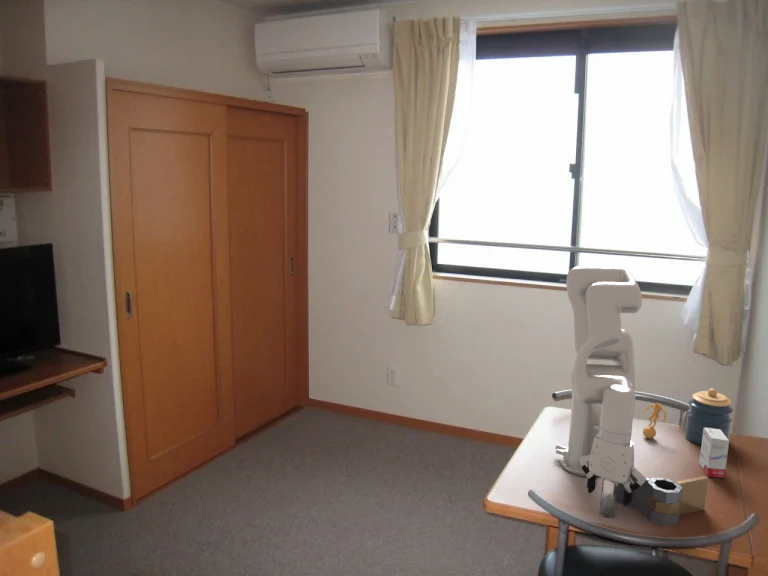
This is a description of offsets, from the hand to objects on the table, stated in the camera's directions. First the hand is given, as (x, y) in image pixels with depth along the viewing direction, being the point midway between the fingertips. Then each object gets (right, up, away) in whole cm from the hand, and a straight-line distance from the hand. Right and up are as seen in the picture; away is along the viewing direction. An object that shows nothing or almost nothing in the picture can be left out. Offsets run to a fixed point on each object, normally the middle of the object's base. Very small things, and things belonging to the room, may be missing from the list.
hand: (608, 497), depth 162 cm
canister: (+48, +4, +46) cm, 67 cm away
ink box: (+39, -1, +25) cm, 46 cm away
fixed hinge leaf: (+10, -4, +3) cm, 11 cm away
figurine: (+30, +4, +46) cm, 56 cm away
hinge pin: (0, -5, +1) cm, 5 cm away
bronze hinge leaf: (+18, -5, +2) cm, 19 cm away
